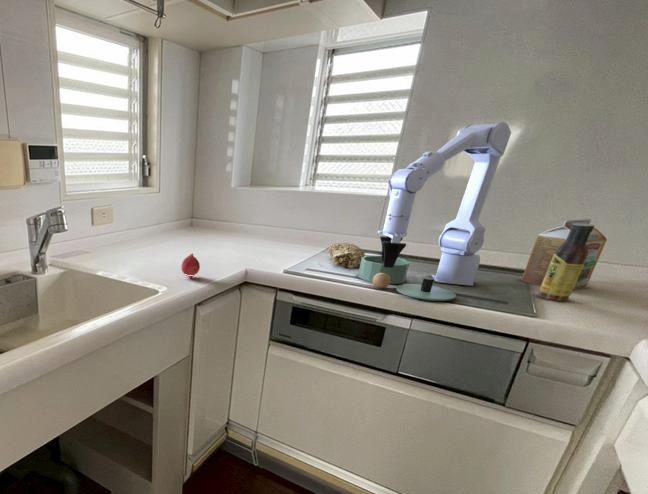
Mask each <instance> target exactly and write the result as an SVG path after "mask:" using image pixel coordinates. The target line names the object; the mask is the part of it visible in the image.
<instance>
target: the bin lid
mask: <svg viewBox="0 0 648 494" xmlns="http://www.w3.org/2000/svg"><path fill="white" fill-rule="evenodd" d="M434 282H435V280H434V279H433V277H427V276H426V277H423V278H422V281H421V284H420V283H404V284H403V283H401V284H398V285H397V286H396V288H395V289H396V291H397V292H398V293H399V294H402V295H404V296H406V297H411V298H414V299H418V300H424V301H425V300H426V301H432V302H433V301H434V302H435V301H439V302H442V301H443V302H445V301H452V300H455V299H456V297H457V293H455V292H453V291H451V290H449V289H446V288H443V287H439V286H435V285H433V284H434Z"/></svg>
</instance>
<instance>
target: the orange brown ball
mask: <svg viewBox="0 0 648 494" xmlns="http://www.w3.org/2000/svg"><path fill="white" fill-rule="evenodd" d="M390 282H391V279H390V276H389V275H388V274H386V273H378V274H376V275H375V276H374V278H373V282H372V284H373V287H375V288H377V289H385V288H387V287H389V285H391V284H390Z"/></svg>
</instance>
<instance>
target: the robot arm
mask: <svg viewBox="0 0 648 494" xmlns="http://www.w3.org/2000/svg"><path fill="white" fill-rule="evenodd" d="M511 135H512V131H511V129H510V126H509V124H508V122H506V121H501V122H495V123H494V122H493V123H479V124H467V125H465V126H463V127H462V128H461V129H459V130H458V131H457V133H456V136H454V137H453V138H452V139H451V140H449V141H448V142H447V143H445V144H444V145H443V146H442V147H440V148H439V149H438V150H437V151H435V150H432V151H425V152H424V153H423V154H422V156H421V157H419V158H418V159H417V160H415V161H414V162H411V163H409V164H408V166H407V167H406V168H399V169H396V171H394V173H392V175H391V176H390V178H389V179H388V182H387V183H388V184H387V185H388V189H389V193H388V196H389V202H388V207H387V211H386V216H385V221H384V225H383V229H382V230H378V231H377V234H378V235H381V236H379V239H380V243H381V256H382V261H384V267H388V268H393V266H394V264H395V262H396V260H397V258H399V256H400V254H401V253H402V251H403V250H404V249H405V248H406V247H407V243H404V242H402V243H401V241H403V239H404V238H405V237H407V235H408V228H409V224H410V219H411V215H412V212H413V207H414V204H415V199H416V195H417V192H419V191H421V189H422V188H423V187H424V186H425V183H426V182H427V181H428V180H429V179H430V178H431V177H433V176H434V175H436V174H437V173H439V172H440V171H441V170H442V169H443V168H444V167H445V164H446V163H445V162H447V161H449V160H450V159H452V158H453V157H456V156H457V155H459V154H460V153H462V152H463V153H464V154H466V155H467V156H468V157H471V158H472V160H473V161H474V164H473V167H472V170H471V173H470V177H469V180H468V182H467V185H466V188H465V191H464V193H463V197H462V200H461V203H460V205H459V209H458V212H457V214H456V218H455V219H453V220H451V221H450V222H448V223H446V224H445V226H444V229H443V231H442V232H441V234H440V235H439V237H438V246H439V248H440V252H441V256H440V259H439V263H438V267H437V269H436V274H431V278H433V279H434V282H435V283H440V284H449V285H450V284H451V285H459V286H460V285H461V286H470V287H471V286H474V282H475V279H476V276H477V273H478V270H479V266H480V262H481V256H480V254H476V253H478V252H479V251H480V250H481V249H482V247H483V245H484V241H485V232H486V227H485V226H484V225H483V224H482V223H481V221H479V219H480V218H481V217H480V216H481V214H482V210H483V208H484V205H485V204H486V200H487V197H488V194H489V191H490V188H491V186H492V183H493V180H494V177H495V175H496V172H497V169H498V166H499V164H500V160H501V158H502V157H503V156H504V154H505V152H506V149H507V146H508V143H509V140H510V137H511Z"/></svg>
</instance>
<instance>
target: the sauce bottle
mask: <svg viewBox="0 0 648 494" xmlns="http://www.w3.org/2000/svg"><path fill="white" fill-rule="evenodd" d="M593 228H595V224H582V223H574V224H572V225H571V227H570V232H569V235H568V237H567V239H566V241H565V242H564V243H563V244H562V245H561V246H560V247H559V248H558V249H557V251H556V252H555V253H554V255H553V257H552V260H551V262H550V265H549V267H548V269H547V272H546V274H545V277H544V280H543V282H542V285H540V287H539V291H538V296H539V297H541V299H544V300H548V301H557V302H565V301H568V300H569V298H570V296H572V293H573V291H574V290H575V289H574V286H575V284H576V282H577V280H578V277H579V275H580V273H581V270H582V268H583V266H584V262H585V260H586V257H587V255H588V248H587V246H586V242H587V241H588V240H587V239H588V237H589V235H590V233H591V232H592V231H593Z"/></svg>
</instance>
